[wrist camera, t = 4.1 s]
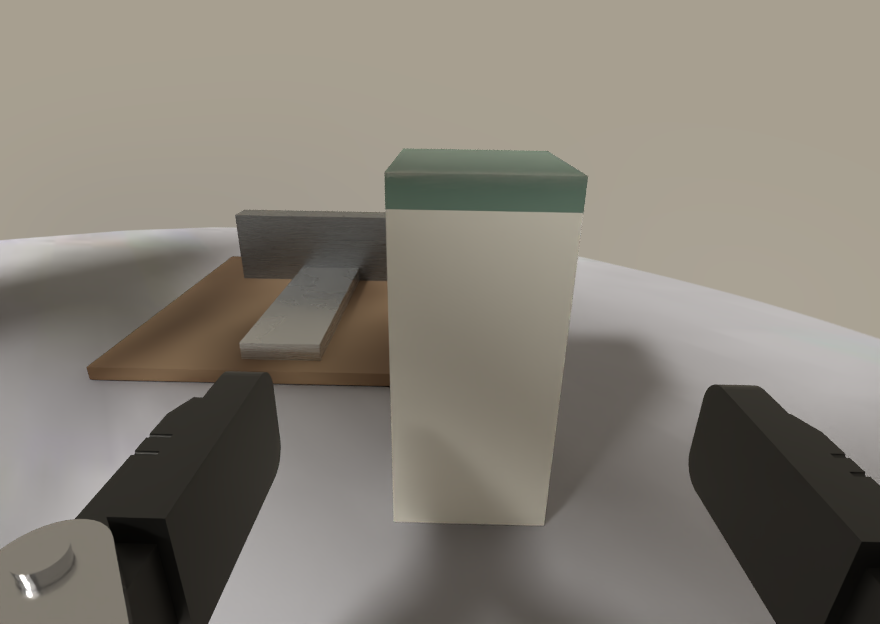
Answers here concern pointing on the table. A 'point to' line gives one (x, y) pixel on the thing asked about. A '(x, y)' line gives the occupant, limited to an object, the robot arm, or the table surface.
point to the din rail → (302, 316)
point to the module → (478, 329)
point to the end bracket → (311, 242)
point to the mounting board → (228, 321)
